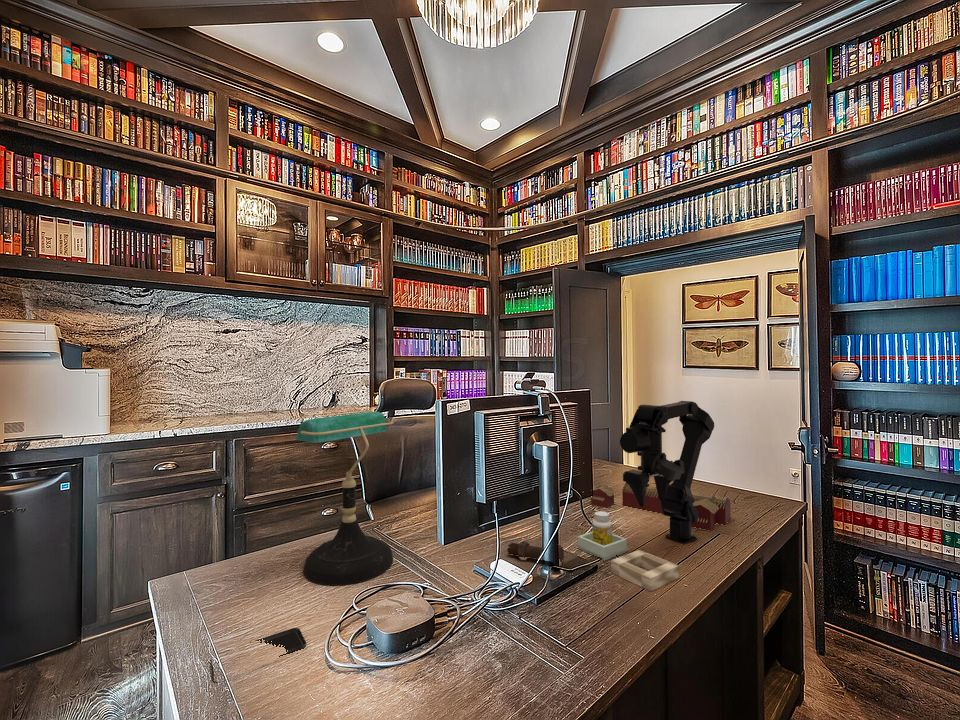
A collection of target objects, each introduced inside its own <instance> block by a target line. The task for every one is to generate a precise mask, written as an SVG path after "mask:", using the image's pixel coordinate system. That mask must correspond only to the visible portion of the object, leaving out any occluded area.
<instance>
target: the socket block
mask: <svg viewBox="0 0 960 720" xmlns="http://www.w3.org/2000/svg"><path fill="white" fill-rule="evenodd" d="M610 565H611V567H610V569H611V570H610V571H611V573H612V574H614V575H616V576H618V577H619V578H622V579H624V580H626V581H629V582H630V583H631V584H635V585H637V586H638V587H641V588H643V589H645V590H646V591H649V592H653V591H655V590H657V589H659V588H661V587H663V586H665V585H667V584H669V583H671V582H673V581H675V580H677V579H680V566H679V565H678V564H676V563H673V562H671V561H669V560H666V559H663V558H661V557H659V556H656V555H653V554H651V553H648V552H645V551H643V550H640V549H638V550H635V551H632V552H630V553H627V554H625V555H622V556H619V557H617V558H614V559H612V560H611V562H610Z"/></svg>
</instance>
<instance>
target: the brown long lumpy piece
mask: <svg viewBox="0 0 960 720" xmlns="http://www.w3.org/2000/svg"><path fill="white" fill-rule="evenodd" d="M558 545H559V559H560V561H561V562H562V560H563V559H564V560H565V558H564V557H565V553H564V548H563V546H562V545H561V544H558ZM542 548H543V547H542V546H541V547H540V546H534V545H530V543H529V542H528V541H526V540H523V541H521V542H520V543H515V542H511V543H508V545H507V549H506V551H507V553H508V555H510V554H513V555H512V556H514V555H518V556H517V557H518V558H519V557H524V558H525V557H530V558H529V559H531V558H536V559H535V560H537V558H539V556H540V555H541V552H542ZM564 560H563V561H564Z"/></svg>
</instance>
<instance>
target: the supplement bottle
mask: <svg viewBox="0 0 960 720" xmlns="http://www.w3.org/2000/svg"><path fill="white" fill-rule="evenodd" d="M591 523H592V532H593V542H596V543H598V544H601V545H603V546H605V545H608V544H611V543H612V534H613V524H612V521H610V514H609V512H607V511H600V510H599V511H595V512H594V519H593V521H592V522H591Z"/></svg>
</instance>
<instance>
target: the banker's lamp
mask: <svg viewBox="0 0 960 720" xmlns="http://www.w3.org/2000/svg"><path fill="white" fill-rule="evenodd" d="M393 424H394V421H393V420H386V419H385V414H384V413H382V412H379V411H367V412H358V413H350V414H340V415H334V416H325V417H324V416H323V417H317V418H310V419H306V420H304V421H302V422H301V423H300V425H299V428H298V431H297V434H296V437H295V440H296V441H301V442H307V443H314V444H315V443H316V444H317V443H325V442H331V441H332V442H333V441H339V440H345V439H349V438H355V437H361V436H362V439H363V441H364V444H365V448H364V450H363V452H362V453H361V454H360V455H359V457H358V458H357V460H356V461H355V462H354V464H353V465H352V466H351V468H350V470H347V472H346V474H345V476H346V477H345V478H346V479H344V480H343V481H342V483H341V487H342V507H341V509H342V510H341V511H342V513H343V515H342V517H341V518H342V519H341V522H340V524H339V527H338V530H337V532H336V534H335V536H334V537H333V538H332V539H330V540H328V541H326V542H325V541H324V542H323V543H322V544H320V546H318V547H316V548H314V549H313V550H312V551H311V552H310V553H309V554H308V555H307V556H306V559H305V561H304V565H303V570H302V571H303V576H304V577H305V578H306V579H307V580H308V581H310V582H313V583H314V584H318V585H324V586H346V585H353V584H359V583H362V582H366V581H370V580H371V579H373V578H376V577H378V576H380V575H383V573H385V572H386V571H387V570H388V569H390V567H391V566H392V564H393V563H394V556H393V552H392V548H391V547H390V545H389V544H387V542H385V541H383V540H381V539H379V538H376V537H374V536H370V535H366V534H365V533H364V532H363V530H362V529H361V526H360V525H359V522H358V520H357V516H356V513H355V512H356V510H357V505H356V487H357V482H356V480H355V479H354V478H352V476H353V475H352V474H353V472H354V470H355V469H356V468H357V466H358V464H359V463H360V462H361V461H362V459H363V458H364V456H365V455H366V454H367V452H368V450H369V449H370V444H369V441H368V438H367V435H372V434H379V433H384V432H387V431H388V430H387V426H389V425H393Z"/></svg>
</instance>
